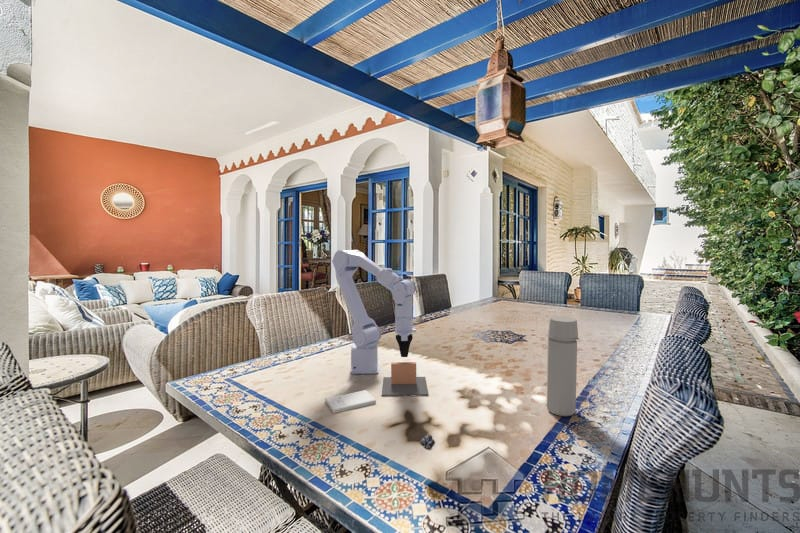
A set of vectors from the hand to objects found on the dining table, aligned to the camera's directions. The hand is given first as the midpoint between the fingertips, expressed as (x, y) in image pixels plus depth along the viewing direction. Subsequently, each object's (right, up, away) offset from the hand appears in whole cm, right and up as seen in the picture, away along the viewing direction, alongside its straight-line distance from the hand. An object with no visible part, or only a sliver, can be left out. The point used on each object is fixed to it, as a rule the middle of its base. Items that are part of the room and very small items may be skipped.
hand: (404, 356), depth 120 cm
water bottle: (+42, -9, -23) cm, 49 cm away
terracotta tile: (0, -7, -5) cm, 9 cm away
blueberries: (+5, -11, -39) cm, 40 cm away
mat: (0, -8, -6) cm, 10 cm away
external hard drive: (-16, -10, -17) cm, 25 cm away
